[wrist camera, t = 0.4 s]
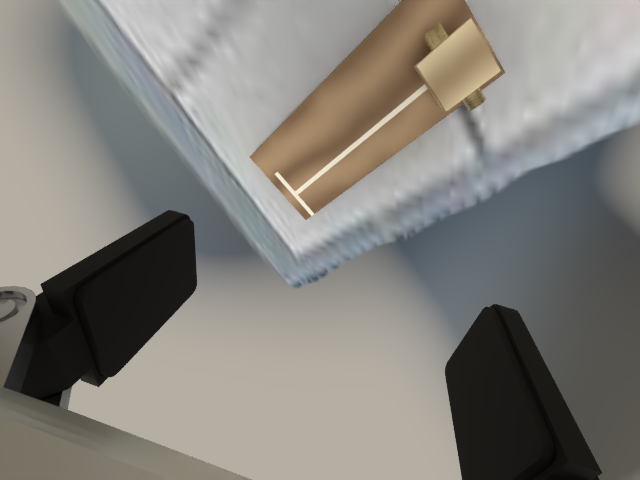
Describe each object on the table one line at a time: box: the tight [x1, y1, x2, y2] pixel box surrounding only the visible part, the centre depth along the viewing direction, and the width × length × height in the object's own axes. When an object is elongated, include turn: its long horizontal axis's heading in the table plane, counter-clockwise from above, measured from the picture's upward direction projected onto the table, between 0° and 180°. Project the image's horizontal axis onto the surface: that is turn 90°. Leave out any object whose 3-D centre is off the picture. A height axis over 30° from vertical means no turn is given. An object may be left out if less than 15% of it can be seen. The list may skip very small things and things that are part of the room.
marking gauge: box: [414, 18, 501, 112], centre depth 28 cm, size 8×5×6 cm, turn 42°
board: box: [250, 0, 505, 220], centre depth 36 cm, size 12×29×3 cm, turn 132°
